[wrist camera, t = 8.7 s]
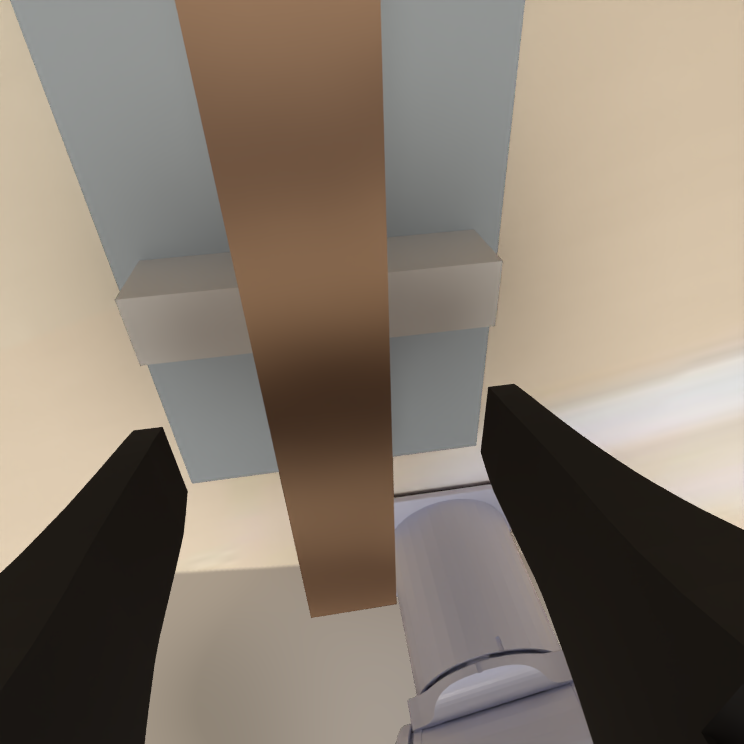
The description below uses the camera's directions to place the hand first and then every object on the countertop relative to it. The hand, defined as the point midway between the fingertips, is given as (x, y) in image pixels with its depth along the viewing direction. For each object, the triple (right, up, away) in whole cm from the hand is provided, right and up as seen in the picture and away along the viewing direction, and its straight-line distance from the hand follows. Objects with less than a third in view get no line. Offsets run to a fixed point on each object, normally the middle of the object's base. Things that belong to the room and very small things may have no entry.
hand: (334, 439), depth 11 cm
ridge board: (-1, +6, +8) cm, 10 cm away
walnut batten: (-1, +3, +5) cm, 6 cm away
